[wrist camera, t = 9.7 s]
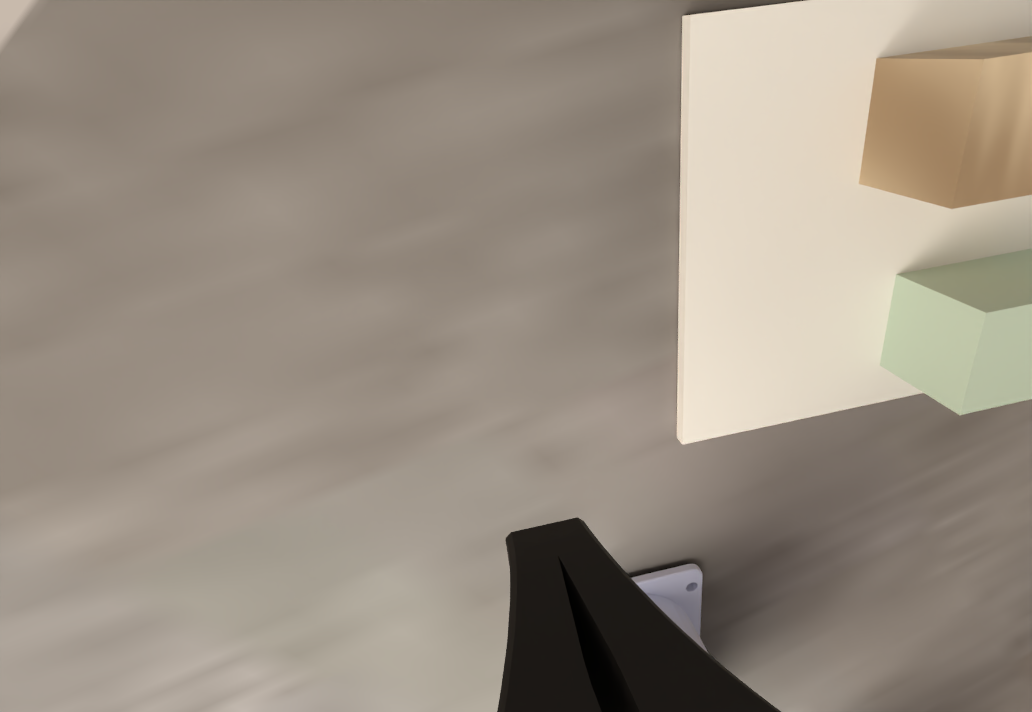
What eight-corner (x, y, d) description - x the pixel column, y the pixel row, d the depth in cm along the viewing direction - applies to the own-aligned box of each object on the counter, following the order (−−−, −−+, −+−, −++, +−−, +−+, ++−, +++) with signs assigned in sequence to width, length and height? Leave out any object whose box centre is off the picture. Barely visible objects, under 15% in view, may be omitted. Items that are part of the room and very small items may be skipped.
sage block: (879, 365, 23) (1042, 330, 24) (959, 415, 20) (1144, 373, 21) (896, 274, 21) (1071, 241, 22) (986, 312, 18) (1186, 272, 19)
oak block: (858, 183, 19) (1050, 151, 20) (951, 209, 16) (1174, 168, 17) (876, 58, 18) (1084, 28, 19) (984, 59, 15) (1229, 23, 15)
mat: (1066, 354, 25) (1078, 359, 25) (676, 436, 23) (682, 444, 23) (1204, -49, 19) (1223, -52, 18) (682, 15, 17) (690, 14, 16)
